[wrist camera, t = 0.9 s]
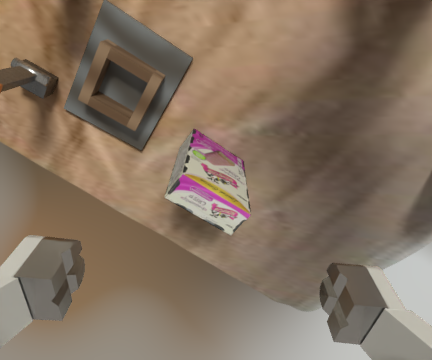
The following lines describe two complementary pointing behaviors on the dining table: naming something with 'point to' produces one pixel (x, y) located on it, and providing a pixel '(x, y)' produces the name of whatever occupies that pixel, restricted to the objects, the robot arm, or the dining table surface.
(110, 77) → the hitch block
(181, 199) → the candy bar box
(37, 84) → the retainer base
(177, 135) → the dining table surface
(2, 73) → the bar
